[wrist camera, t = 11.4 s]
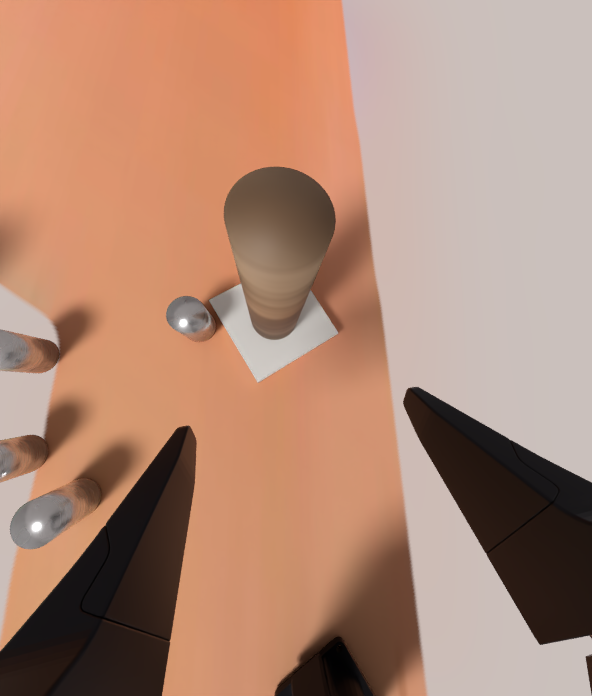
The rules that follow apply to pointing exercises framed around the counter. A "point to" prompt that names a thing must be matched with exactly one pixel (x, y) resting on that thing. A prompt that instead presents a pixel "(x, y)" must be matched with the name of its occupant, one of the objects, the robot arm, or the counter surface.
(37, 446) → the spacer posts
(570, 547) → the robot arm
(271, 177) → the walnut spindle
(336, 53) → the counter surface
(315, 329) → the rubber mat
